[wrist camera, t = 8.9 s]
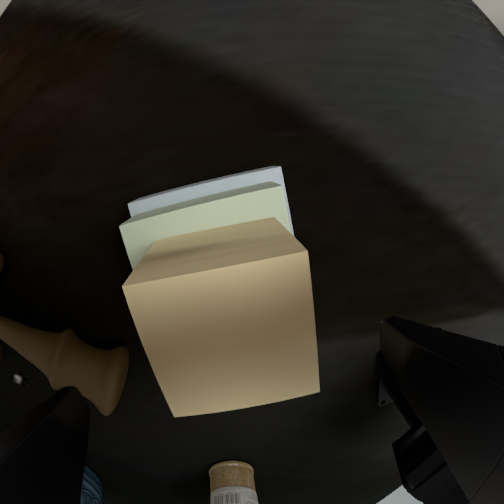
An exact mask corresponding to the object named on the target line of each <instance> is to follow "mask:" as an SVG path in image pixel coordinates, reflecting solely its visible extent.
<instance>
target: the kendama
mask: <svg viewBox="0 0 504 504" xmlns="http://www.w3.org/2000/svg"><path fill="white" fill-rule="evenodd" d="M3 264H4V257H3V255H2V254H1V252H0V273H1V271H2V268H3ZM0 339H1V340H3V341H4V342H5V343H7V344H8V345H9V346H10V347H12V348H13V349H14V350H16V351H17V352H18V353H19V354H21V355H22V356H23V357H25V358H26V359H27V360H29V361H30V362H31V363H32V364H34V365H35V366H36V367H37V368H38V369H40V370H41V371H42V372H43V373H44V374H45V375H46V377H47V378H48V379H49V382H50V384H51V386H52V388H53V389H54V390H59V389H61V388H63V387H65V386H75V387H76V388H78V390H79V391H80V393H81V394H82V396H84V397H86V398H87V399H89V400H90V401H92V402H93V403H94V404H95V405H96V407H97V408H98V410H99V411H100V413H101V414H103V415H105V416H108V415H110V414H111V413H112V412H113V410H114V409H115V407H116V405H117V403H118V401H119V399H120V396H121V393H122V390H123V387H124V384H125V380H126V375H127V371H128V365H129V351H128V349H127V347H125V346H119V347H117V348H115V349H112V350H105V349H100V348H96V347H94V346H91V345H89V344H87V343H85V342H83V341H82V340H81V339H80V338H79V337H78V336H77V334H76V332H75V331H74V330H72V329H67V330H65V331H64V332H61V333H52V332H47V331H43V330H40V329H36V328H33V327H30V326H27V325H25V324H22V323H19V322H16V321H14V320H11V319H9V318H6V317H4V316H2V315H0ZM2 358H3V346H2V344H1V342H0V362H1V360H2Z"/></svg>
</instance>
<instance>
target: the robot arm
mask: <svg viewBox="0 0 504 504" xmlns="http://www.w3.org/2000/svg"><path fill="white" fill-rule="evenodd" d="M380 348H381V352H380V353H379V355H378V383H377V404H378V405H379V406H384V405H386V404H389V403H391V402H394V403H395V405H396V406H397V408H398V409H399V411H400V412H401V414H402V415H403V417H404V418H405V420H406V421H407V423H408V424H409V426H410V427H411V428H410V429H409V430H408V431H407V432H406V433H405V434H404V435H403V436H402V437H401V438H400V439H399V440H398V439H397V440H396V441H395V442H394V443H393V444H392V447H393V450H394V455H395V458H396V462H397V465H398V469H399V472H400V476H401V480H402V484H403V486H404V488H405V489H406V490H407V492H408V493H410V494H411V495H412V496H413V497H414V498H416V499H417V500H419V501H421V502H423V503H424V504H504V346H501V345H498V346H497V345H496V344H493V343H489V342H486V341H482V340H478V339H474V338H471V337H467V336H463V335H460V334H456V333H452V332H449V331H445V330H442V329H441V328H434V327H431V326H427V325H424V324H420V323H416V322H413V321H409V320H406V319H402V318H399V317H395V316H392V317H389V318H387V319H384V320H382V321H381V323H380ZM89 420H90V408H89V405H88V404H87V402H86V401H85V399H84V397H83V396H82V394H81V393H80V391H79V390H78V388H76V387H75V386H65V387H63V388H61V389H60V390H59V391H57V392H56V393H55V394H53V395H52V396H51V397H49V398H48V399H47V400H45V401H44V402H43V403H41V404H40V405H39V406H37V407H36V408H35V409H33V410H32V411H31V412H29V413H28V414H27V415H25V416H24V417H23V418H21V419H20V420H19V421H18V422H16V423H15V424H14V425H12V426H11V427H10V428H8V429H7V430H6V431H4V432H3V433H2V434H0V504H80V500H81V492H82V484H83V476H84V469H85V463H86V456H87V446H88V432H89Z"/></svg>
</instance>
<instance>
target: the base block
mask: <svg viewBox="0 0 504 504" xmlns="http://www.w3.org/2000/svg"><path fill="white" fill-rule="evenodd" d="M268 181H272V182H275V183H277V184H280V185H282V186H283V191H284V196H285V201H286V206H287V212H288V217H289V222H290V228H291V233H292V235H293V236H294V233H293V227H292V222H291V216H290V211H289V205H288V200H287V195H286V190H285V185H284V180H283V175H282V170H281V167H280V166H270V167H265V168H260V169H255V170H250V171H245V172H241V173H236V174H232V175H227V176H223V177H219V178H214V179H210V180H206V181H202V182H198V183H194V184H190V185H186V186H182V187H178V188H174V189H170V190H167V191H163V192H159V193H156V194H152V195H148V196H145V197H141V198H139V199H137V200H134V201H132V202H130V203H128V207H129V211H130V215H131V217H133V216H134V215H136V214H138V213H142V212H145V211H149V210H153V209H156V208H160V207H164V206H167V205H171V204H175V203H179V202H183V201H187V200H191V199H195V198H198V197H203V196H207V195H211V194H215V193H219V192H223V191H228V190H232V189H236V188H241V187H245V186H250V185H254V184H259V183H263V182H268Z"/></svg>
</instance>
